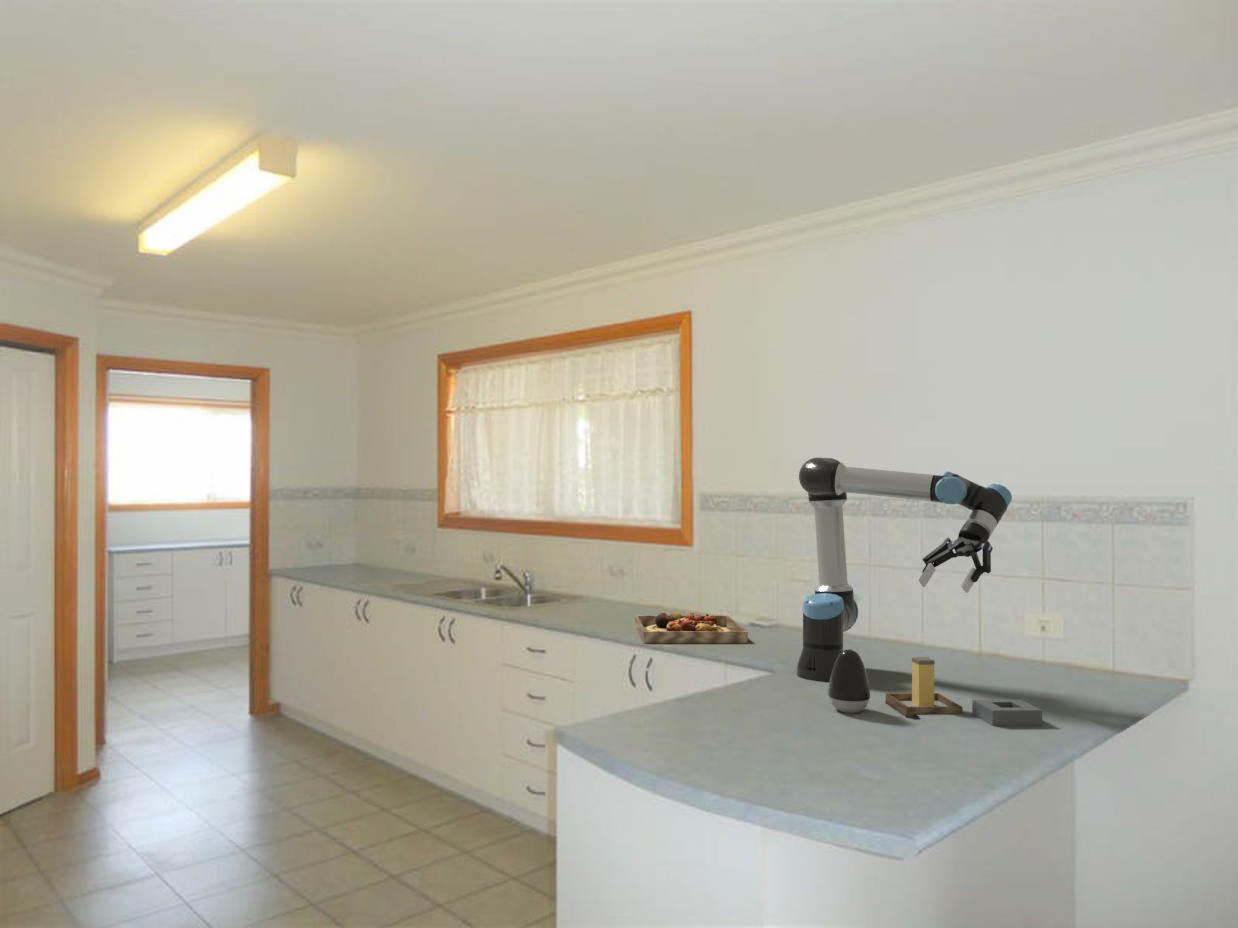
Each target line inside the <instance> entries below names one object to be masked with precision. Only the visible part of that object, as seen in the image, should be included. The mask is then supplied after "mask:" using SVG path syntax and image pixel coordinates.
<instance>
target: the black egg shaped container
mask: <svg viewBox="0 0 1238 928" xmlns="http://www.w3.org/2000/svg"><path fill="white" fill-rule="evenodd" d="M868 677H869V676H868V675H867V670H866V667H865V664H864V662H863V660H862V657H861V656H860V654H859V653H858V652H857V651H855V650H853V649H851V648H850V649H843V651H842V652H841V653H840V654H839V655H838V657H837V659H836V661H835V663H834V666H833V669H832V673H831V677H830V681H828V682H829V683H828V688H827V689H828V690H827V695H828V697H829V700H830V704H831V705H832V706H833V708H835V709H836V710H837V711H839V712H842V713H847V714H857V713H860V712H862V711H864V710H865V709H866V708H867V706H868V704H869V700H870V698H871V689H870V683H869V678H868Z"/></svg>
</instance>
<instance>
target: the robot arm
mask: <svg viewBox="0 0 1238 928" xmlns="http://www.w3.org/2000/svg"><path fill="white" fill-rule="evenodd" d="M798 473H799V474H798V480H799V484H800V486H801V488H802V489H803V490H804V491H805V492H806V493H808V494H807V495H808V503H809V504H810V505H811V506H812V508H813V511H814V524H815V526H814V527H815V537H816V538H815V539H816V553H817V567H818V568H817V569H818V581H819V582H818V583H819V584H818V585H817V587H815V589H814V593H812V594H809V595H807V596H805V598H804V599H803V603H802V604H803V605H802V650H801V652H800V656H799V659H798V662H797V664H796V676H799V677H801V678H804V679H808V680H815V681H827V682H830V677H831V673H832V669H833V666H834V663H835V661H836V659H837V657H838V655H839V654H840V653H841V652H842V651H844V633H845V632H847V631H849V630H850V629H852V627H854V625H855V623H856V622H857V620H858V617H859V607H858V604H857V602H856V601H855V596H854V588H853V586H851V585H850V584H849V582H848V581H849V580H848V567H847V554H846V542H845V541H846V539H845V538H846V537H845V525H844V511H843V509H844V508H843V506H844V504H845V503H846V502H847V501H848V495H847V493H848V494H857V495H858V494H859V495H866V496H867V495H869V496H877V497H886V498H887V497H888V498H896V499H905V500H914V501H915V500H916V501H926V502H933V503H941V504H946V505H959V506H962V507H964V508H966V509H968V510H971V513H970V515H968V517H967V519H966V520H965V523H964V524H963V526H962V527H961V528H960V531H959V532H958V537H957V539H955V540H951V539H950V537H947V538H945V540H944V541H943V542H942V543H941V544H939V546H937V547H936V548H934V549H933V550H931V552H929V553H928V554H927V555H926V556H924V557H923V558H922V561H923V563H924V565H925V566H924V568H923V569H922V571H921V572H922V573H921V575H920V576H919V579H918V582H919V583H920V585H921V586H922V588H923V587H924V588H925V587H926V586H927V584H928V583H929V581H930V579H931V578H932V577H933V575H934V573H935V571H936V570H937V569H936V567H939V566H941V565H942V564H944V563H946V562H947V561H949V560H952V559H953V558H957V557H965V558H970V557H971V559H972V561H973V564H974V567H971V569H969V572H968V573H967V575H966V577H965V579H964V580H963V582H962V583H961V588H962V590H963V592H965V593H966V594H969V592H970V590H971V589H972V587H973V585H974V584H975V583H977V582H978V581H979V579H980V577H981V576H982V575H983V574H985V573H987V574H990V573H992V572H991V571H992V563H991V562H992V560H991V559H992V556H991V553H992V552H993V546H992V544H991V543H990V541H989V539H990V537H991V536H992V534H993V532H994V531H995V529H996V527H997V526H998V524H999V522H1000V521H1001V519H1002V518H1003V517H1004V515H1005V513H1006V511H1007V510H1008V507H1009V505H1010V504H1011V502H1012V499H1013V495H1012V493H1011V491H1010V490H1009V489H1008V488H1007V487H1006V486H1004V485H1002V484H1000V483H998V484H996V483H992V484H989V485H988V486H987V487H985V486H982V485H980V484H978V483H975V482H974V481H972V480H969V479H967V478H965V477H963V476H961V475H959V474H958V473H953V472H951V471H948V470H947V471H945V472H944V473H943V474H942V475H940V474H938V475H937V474H936V475H935V474H929V473H917V472H907V471H906V472H905V471H898V470H897V471H895V470H884V469H877V468H876V469H875V468H863V467H852V466H846V465H845V464H844V463H843V462H840V461H839V460H838V459H835V458H831V457H812V458H810V459H808V460H807V461H805V462H804V463H803V464H802V466H801V468H800V469H799V472H798ZM981 550H982V564H981V561H980V558H979V555H978V552H980V551H981Z"/></svg>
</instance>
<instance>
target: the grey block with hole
mask: <svg viewBox="0 0 1238 928" xmlns="http://www.w3.org/2000/svg"><path fill="white" fill-rule="evenodd" d="M971 709H972V712H971V714H972V715H973V716H975V717H977V718H978V719H980V720H982V721H983V722H985V723H987V724H988V725H990V726H992V727H995V726H996V727H1004V726H1005V727H1009V726H1010V727H1014V726H1015V727H1016V726H1017V727H1021V726H1022V727H1023V726H1028V727H1029V726H1032V727H1033V726H1035V727H1036V726H1043V709H1040V708H1039V707H1036V706H1034V705H1032V704H1030V703H1029V702H1026V701H1024V700H1022V699H972V707H971Z"/></svg>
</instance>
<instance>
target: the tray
mask: <svg viewBox="0 0 1238 928" xmlns="http://www.w3.org/2000/svg"><path fill="white" fill-rule="evenodd" d="M901 700H902V701H904V700H905V701H910V700H911V701H912V692H910V693H909V692H898V693H897V692H892V693H891V692H890V693H889V692H886V693H885V704H886V705H888V706H889V707H890V708H892V709H893V710H895V711H897V712H898V713H899V714H900V715H902V716H904V717H905V718H920V716H919V715H918V714H920V715H921V714H923V715H924V714H931V715H932V714H963V707H964V706H962V705H960V704H958V703H957V702H955V701H953V700H952V699H949V698H948V697H946V696H944V695H943V694H941V693H939V692H934V701H935V700H936V701H939V702H940V703H942V704H943V705H945V706H942V705H941V706H939V705H938V706H935V705H934V706H928V707H917V706H908V705H906V704H905V703H904V702H902V701H901Z"/></svg>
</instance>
